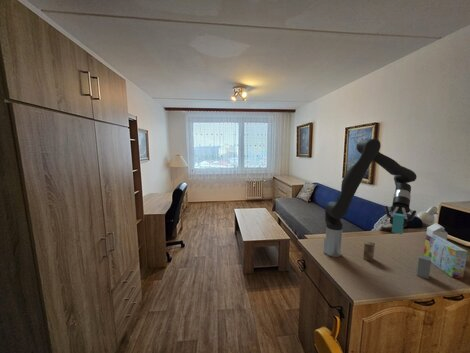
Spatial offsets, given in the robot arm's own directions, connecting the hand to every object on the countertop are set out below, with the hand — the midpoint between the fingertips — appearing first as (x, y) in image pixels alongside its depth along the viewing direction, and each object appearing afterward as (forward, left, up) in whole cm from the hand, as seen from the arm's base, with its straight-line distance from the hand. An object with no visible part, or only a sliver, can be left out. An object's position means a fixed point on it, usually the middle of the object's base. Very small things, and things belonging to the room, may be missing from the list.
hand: (397, 224), depth 108 cm
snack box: (+20, +20, -25) cm, 38 cm away
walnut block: (-12, +2, -25) cm, 28 cm away
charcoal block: (+12, +2, -25) cm, 28 cm away
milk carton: (+18, +40, -25) cm, 50 cm away
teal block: (0, +2, -5) cm, 5 cm away
